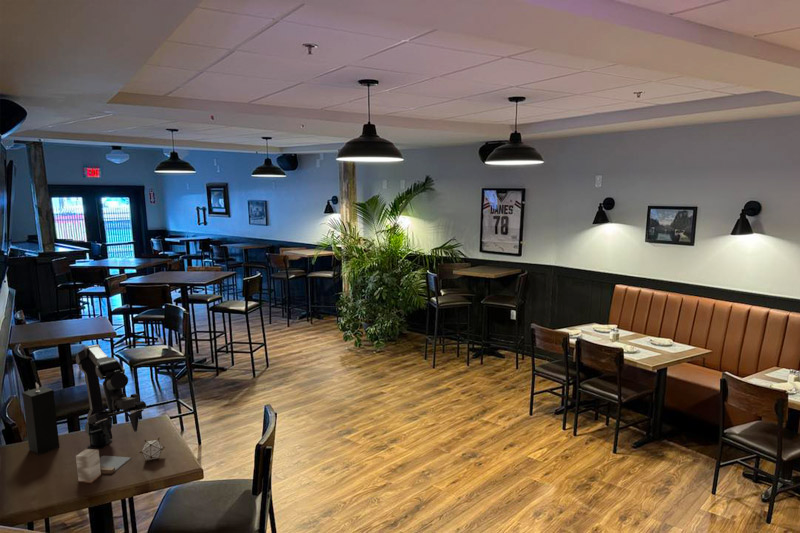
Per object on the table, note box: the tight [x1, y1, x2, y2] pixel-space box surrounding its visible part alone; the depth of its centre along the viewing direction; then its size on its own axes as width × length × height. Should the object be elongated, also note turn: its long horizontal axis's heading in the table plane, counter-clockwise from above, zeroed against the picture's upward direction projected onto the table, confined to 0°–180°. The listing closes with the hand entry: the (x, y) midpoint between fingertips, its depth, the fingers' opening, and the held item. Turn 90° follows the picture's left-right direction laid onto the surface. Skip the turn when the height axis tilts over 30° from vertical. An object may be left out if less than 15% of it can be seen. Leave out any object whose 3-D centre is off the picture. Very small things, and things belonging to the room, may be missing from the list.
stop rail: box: [100, 466, 116, 475], centre depth 187 cm, size 12×2×2 cm, turn 83°
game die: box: [139, 437, 166, 463], centre depth 195 cm, size 9×8×10 cm
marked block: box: [75, 448, 102, 484], centre depth 182 cm, size 5×5×10 cm
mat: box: [99, 455, 132, 472], centre depth 193 cm, size 12×9×1 cm
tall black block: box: [21, 382, 60, 456], centre depth 202 cm, size 8×8×28 cm
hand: (123, 435), depth 183 cm, fingers open, 9 cm apart
